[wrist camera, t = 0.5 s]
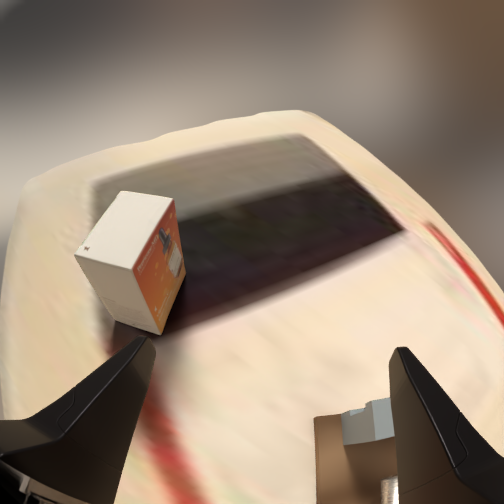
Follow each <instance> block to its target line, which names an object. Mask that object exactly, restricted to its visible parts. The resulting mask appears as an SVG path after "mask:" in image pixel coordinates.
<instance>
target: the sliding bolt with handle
mask: <svg viewBox="0 0 504 504" xmlns="http://www.w3.org/2000/svg"><path fill="white" fill-rule="evenodd" d="M381 504H398V476H397V474H396V475H392V476H388V477H385V478H382V479H381Z"/></svg>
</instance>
